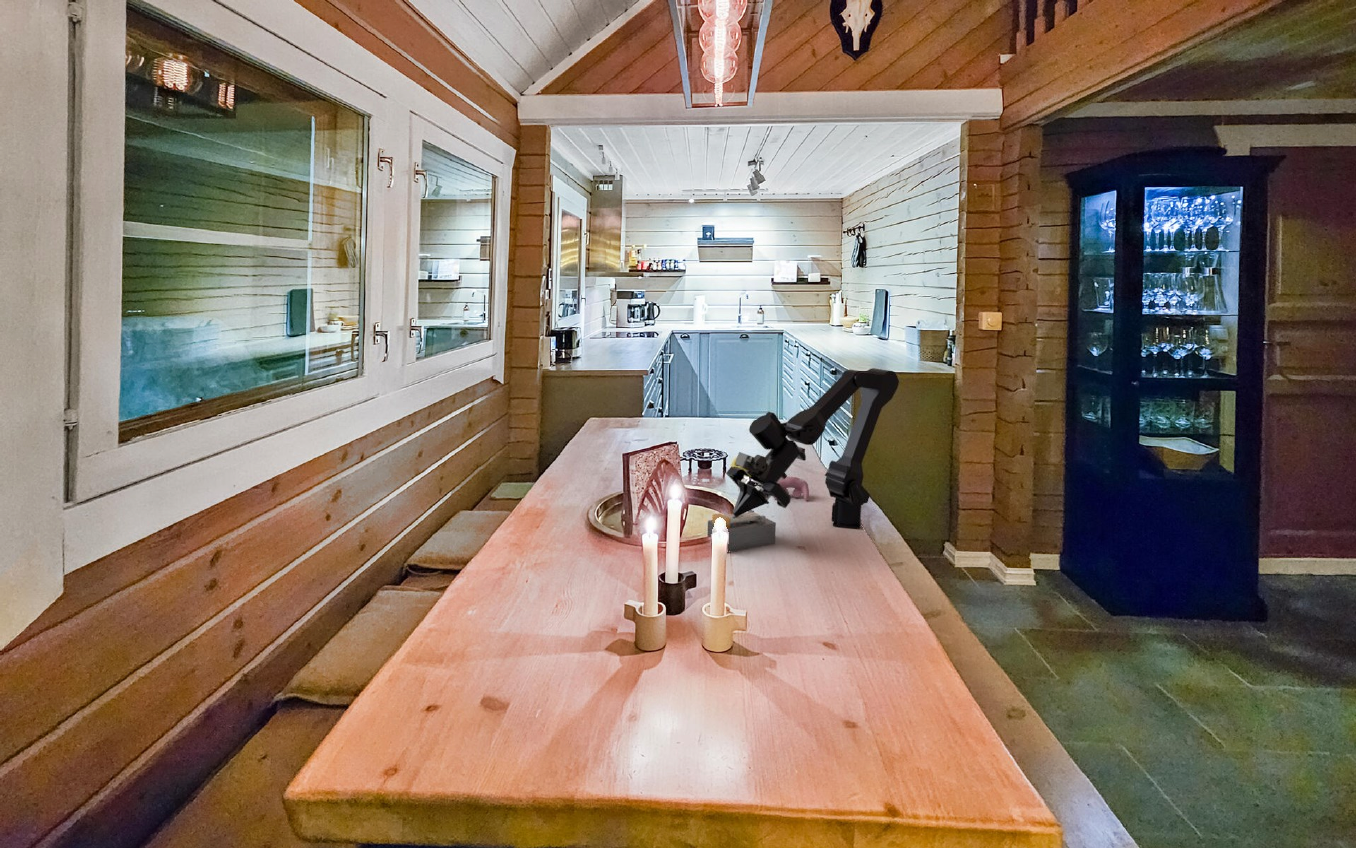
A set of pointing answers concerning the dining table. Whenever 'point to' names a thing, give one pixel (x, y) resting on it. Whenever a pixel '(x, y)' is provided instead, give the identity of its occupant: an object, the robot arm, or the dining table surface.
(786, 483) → the pink curved piece
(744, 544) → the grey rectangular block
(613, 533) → the dining table surface
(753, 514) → the light grey flat bar
